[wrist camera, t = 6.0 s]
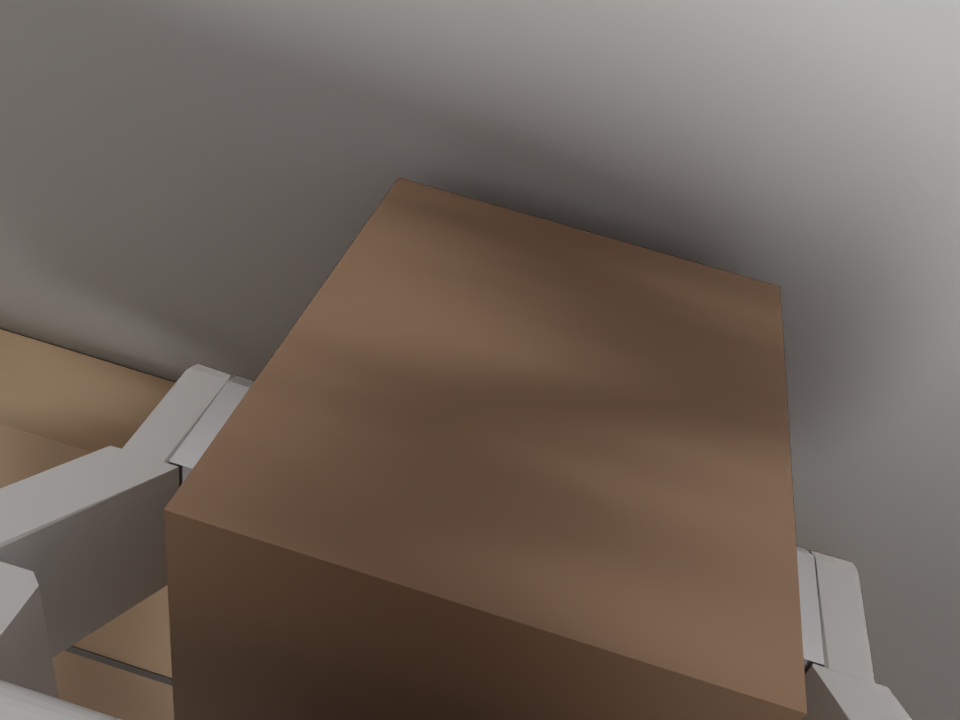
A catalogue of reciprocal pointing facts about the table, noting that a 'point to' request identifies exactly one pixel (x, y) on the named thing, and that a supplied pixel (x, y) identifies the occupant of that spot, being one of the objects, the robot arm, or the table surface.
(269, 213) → the table surface
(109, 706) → the board
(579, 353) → the block
